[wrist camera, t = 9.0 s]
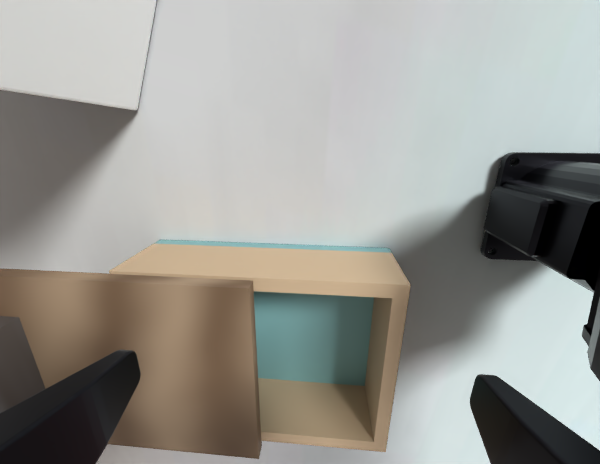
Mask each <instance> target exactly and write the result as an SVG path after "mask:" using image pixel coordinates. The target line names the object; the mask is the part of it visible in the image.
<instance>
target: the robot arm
mask: <svg viewBox="0 0 600 464" xmlns="http://www.w3.org/2000/svg"><path fill="white" fill-rule="evenodd" d="M512 158H514V159H515V162H514V164H513V165H510V161H511V159H512ZM484 229H485V233H484V238H483V242H482V246H481V253H482V254H483V255H484V256H485V257H487V258H489V259H505V260H531V261H539V262H541V263H542V264H544V265H546V266H548V267H549V268H551V269H553V270H555V271H556V272H558V273H560V274H562V275H563V276H565V277H567V278H569V279H571V280H572V281H574V282H576V283H578V284H580V285H581V286H583V287H585V288H587V289H588V290H590V291H592V292H594V295H593V300H592V305H591V309H590V314H589V319H588V323H587V324H586V325H584V327H583V332H582V337H583V339H584V340H585V341H586V343H587V344H588V346H589V348H588V358H589V363H590V368H591V370H592V371H593V373H594V374H595V375H596V377H597V378H598V379H599V381H600V153H521V152H512V153H508V154H506V155H505V156H504V157H503V158H502V160H501V164H500V168H499V173H498V177H497V181H496V186H495V188H494V189H493V190H492V194H491V198H490V202H489V207H488V211H487V216H486V220H485V224H484ZM491 248H493V251H492V252H491V253H488V251H489V249H491ZM140 377H141V372H140V368H139V363H138V359H137V354H136V352H135V351H133V350H123V349H121V350H117V351H115V352H113V353H111V354H109V355H108V356H106V357H104V358H102V359H100V360H98V361H96V362H94V363H93V364H91V365H89V366H87V367H85V368H83V369H81V370H80V371H78V372H76V373H74V374H72V375H70V376H68V377H67V378H65V379H63V380H61V381H59V382H57V383H55V384H53V385H52V386H50V387H48V388H46V389H44V390H42V391H40V392H39V393H37V394H35V395H33V396H31V397H29V398H27V399H25V400H24V401H22V402H20V403H18V404H16V405H14V406H12V407H11V408H9V409H7V410H5V411H3V412H1V413H0V464H96V462H97V460H98V459H99V457H100V456H101V454H102V452H103V451H104V449H105V447H106V445H107V444H108V442H109V440H110V438H111V436H112V435H113V433H114V431H115V429H116V427H117V425H118V423H119V421H120V419H121V417H122V415H123V413H124V411H125V409H126V407H127V405H128V403H129V401H130V399H131V397H132V395H133V393H134V391H135V390H136V388H137V386H138V384H139V381H140ZM470 406H471V410H472V413H473V415H474V418H475V421H476V424H477V427H478V429H479V432H480V435H481V438H482V441H483V443H484V446H485V449H486V452H487V455H488V457H489V460H490V463H491V464H600V451H599V450H598V449H597V448H595V447H594V446H593V445H591V444H590V443H588V442H587V441H586V440H584V439H583V438H581V437H580V436H579V435H577V434H576V433H575V432H573V431H572V430H570V429H569V428H568V427H566V426H565V425H564V424H562V423H561V422H559V421H558V420H557V419H555V418H554V417H553V416H551V415H550V414H548V413H547V412H546V411H544V410H543V409H542V408H540V407H539V406H537V405H536V404H535V403H533V402H532V401H531V400H529V399H528V398H526V397H525V396H524V395H522V394H521V393H519V392H518V391H517V390H515V389H514V388H513V387H511V386H510V385H508V384H507V383H506V382H504V381H503V380H502V379H500V378H499V377H497V376H494V375H482V374H480V375H478V376H477V377H476V379H475V382H474V386H473V390H472V393H471V397H470Z"/></svg>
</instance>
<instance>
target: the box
mask: <svg viewBox="0 0 600 464" xmlns="http://www.w3.org/2000/svg"><path fill="white" fill-rule="evenodd" d="M109 273H110V274H125V275H146V276H167V277H188V278H209V279H230V280H251V281H253V289H254V308H255V328H256V347H257V366H258V385H259V404H260V423H261V441H272V442H283V443H293V444H304V445H315V446H326V447H337V448H347V449H358V450H369V451H380V452H386V445H387V439H388V432H389V425H390V419H391V412H392V406H393V399H394V392H395V386H396V379H397V372H398V366H399V359H400V353H401V346H402V339H403V333H404V326H405V319H406V313H407V306H408V300H409V293H410V286H411V285H410V283H409V281H408V280H407V278H406V276H405V275H404V273H403V271H402V270H401V268H400V266H399V265H398V263H397V261H396V259H395V258H394V256H393V254H392V253H391V251H390V249H389V248H373V247H346V246H319V245H292V244H265V243H238V242H211V241H184V240H159V241H157V242H156V243H154V244H152V245H151V246H149V247H148V248H146V249H144V250H143V251H141V252H139V253H138V254H136V255H134V256H133V257H131V258H130V259H128V260H126V261H125V262H123V263H121V264H120V265H118V266H116V267H115V268H113V269H112V270H110V271H109Z"/></svg>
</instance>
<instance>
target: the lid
mask: <svg viewBox="0 0 600 464" xmlns="http://www.w3.org/2000/svg"><path fill="white" fill-rule="evenodd" d="M121 349H123V350H133V351H135V352H136V354H137V359H138V363H139V368H140V372H141V377H140V381H139V384H138V386H137V388H136V390H135V391H134V393H133V395H132V397H131V399H130V401H129V403H128V405H127V407H126V409H125V411H124V413H123V415H122V417H121V419H120V421H119V423H118V425H117V427H116V429H115V431H114V433H113V435H112V436H111V438H110V440H109V442H108V444H112V445H123V446H133V447H143V448H153V449H164V450H174V451H184V452H194V453H205V454H215V455H225V456H235V457H246V458H256V459H259V456H260V451H261V446H262V442H261V423H260V404H259V385H258V366H257V347H256V328H255V308H254V289H253V281H251V280H230V279H209V278H188V277H167V276H146V275H125V274H104V273H83V272H62V271H41V270H20V269H0V413H1V412H3V411H5V410H7V409H9V408H11V407H12V406H14V405H16V404H18V403H20V402H22V401H24V400H25V399H27V398H29V397H31V396H33V395H35V394H37V393H39V392H40V391H42V390H44V389H46V388H48V387H50V386H52V385H53V384H55V383H57V382H59V381H61V380H63V379H65V378H67V377H68V376H70V375H72V374H74V373H76V372H78V371H80V370H81V369H83V368H85V367H87V366H89V365H91V364H93V363H94V362H96V361H98V360H100V359H102V358H104V357H106V356H108V355H109V354H111V353H113V352H115V351H117V350H121Z"/></svg>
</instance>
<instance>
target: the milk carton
mask: <svg viewBox="0 0 600 464" xmlns="http://www.w3.org/2000/svg"><path fill="white" fill-rule="evenodd" d="M156 1H157V0H0V90H4V91H11V92H18V93H24V94H31V95H37V96H44V97H50V98H57V99H64V100H70V101H77V102H83V103H90V104H96V105H103V106H110V107H116V108H123V109H129V110H137V109H138V104H139V98H140V93H141V87H142V81H143V76H144V70H145V64H146V59H147V53H148V47H149V41H150V36H151V30H152V24H153V19H154V13H155V7H156Z"/></svg>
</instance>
